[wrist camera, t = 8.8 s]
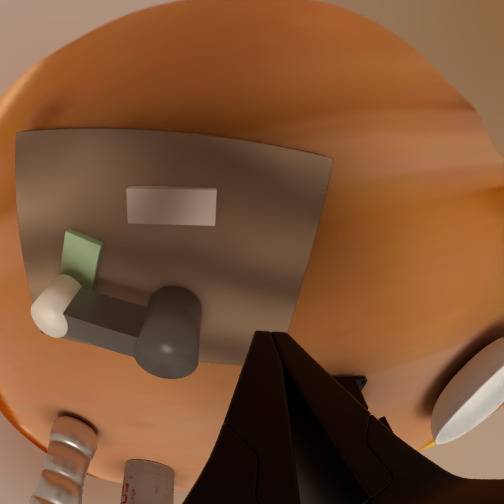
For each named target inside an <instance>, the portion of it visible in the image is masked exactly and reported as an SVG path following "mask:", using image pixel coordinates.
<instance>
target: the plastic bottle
mask: <svg viewBox="0 0 504 504" xmlns="http://www.w3.org/2000/svg"><path fill="white" fill-rule="evenodd" d="M96 449H97V436H96V434H95V432H94V430H93V429H92V428H91V427H90V426H88V425H87V424H85V423H84V422H82V421H80V420H78V419H76V418H73V417H70V416H61V417H59V418H57V419H56V421H55V422H54V424H53V425H52V427H51V432H50V443H49V447H48V451H47V457H46V461H45V464H44V467H43V471H42V472H41V475H40V478H39V481H38V483H37V485H36V487H35V489H34V491H33V493H32V496H31V499H30V504H82V494H83V486H84V479H85V477H86V474H87V470H88V468H89V465H90V461H91V460H92V458H93V457H94V454H95V452H96Z"/></svg>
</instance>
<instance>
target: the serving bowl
mask: <svg viewBox="0 0 504 504" xmlns="http://www.w3.org/2000/svg"><path fill="white" fill-rule="evenodd" d="M503 402H504V337H501V338H499V339H497V340H495V341H494V342H492V343H490V344H489V345H487V346H486V347H485V348H483V349H482V350H481V351H480V352H478V353H477V354H476V355H475V356H474V357H473V358H472V359H471V360H469V361H468V362H467V363H466V364H465V365H464V366H463V367H462V368H461V369H460V371H459V372H458V373H457V374H456V375H455V376H454V377H453V378H452V380H451V381H450V382H449V383H448V385H447V386H446V387H445V389H444V390H443V392H442V393H441V395H440V396H439V398H438V400H437V402H436V404H435V406H434V409H433V412H432V417H431V431H432V436H433V439H434V441H435V443H436V444H444V443H448V442H450V441H452V440H454V439H456V438H458V437H460V436H462V435H463V434H465V433H467V432H468V431H470V430H471V429H473V428H474V427H475V426H477V425H478V424H479V423H481V422H482V421H483V420H484V419H485V418H487V417H488V416H489V415H490V414H491V413H493V412H494V411H495V410H496V409H497V408H498V407H499V406H500V405H501V404H502V403H503Z"/></svg>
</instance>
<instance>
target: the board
mask: <svg viewBox="0 0 504 504" xmlns="http://www.w3.org/2000/svg"><path fill="white" fill-rule="evenodd" d="M333 161H334V159H333V158H330V157H327V156H324V155H321V154H316V153H312V152H307V151H303V150H298V149H293V148H288V147H283V146H278V145H272V144H267V143H261V142H255V141H249V140H243V139H236V138H229V137H222V136H214V135H206V134H197V133H187V132H177V131H165V130H150V129H131V128H56V129H38V130H29V131H22V132H16V152H15V180H16V201H17V214H18V224H19V232H20V240H21V247H22V253H23V259H24V265H25V270H26V275H27V280H28V284H29V289H30V293H31V297H32V301H33V303H34V302H35V301H36V299H37V298H38V297H39V296H40V294H41V293H42V292H43V291H44V290H45V288H46V287H47V286H48V285H49V284H50V283H51V281H52V280H53V279H54V278H55V277H56V276H58V275H61V274H64V275H68V276H71V277H73V278H74V279H75V280H77V281H78V282H79V284H80V285H81V286H82V288H85V289H88V290H91V291H94V292H97V293H101V294H104V295H107V296H110V297H114V298H117V299H121V300H124V301H128V302H131V303H135V304H138V305H142V306H146V307H147V306H148V303H149V300H150V298H151V296H152V295H153V294H154V293H155V292H156V291H157V290H159V289H161V288H164V287H169V286H174V287H180V288H184V289H186V290H188V291H190V292H191V293H192V294H194V295H195V296H196V297H197V299H198V300H199V302H200V304H201V307H202V317H201V330H200V344H199V360H198V362H204V363H216V364H229V365H244V362H245V359H246V356H247V353H248V350H249V347H250V344H251V341H252V338H253V335H254V332H255V331H256V330H260V331H269V332H273V331H277V332H286V333H287V332H288V329H289V325H290V322H291V319H292V316H293V313H294V309H295V306H296V303H297V299H298V296H299V293H300V289H301V286H302V282H303V279H304V275H305V272H306V268H307V265H308V261H309V257H310V254H311V250H312V246H313V243H314V239H315V235H316V231H317V227H318V224H319V220H320V216H321V212H322V208H323V204H324V199H325V195H326V191H327V187H328V183H329V178H330V174H331V170H332V165H333ZM41 333H44V332H43V331H42V330H41ZM44 334H46V333H44ZM59 338H63V339H67V340H71V341H75V342H79V343H84V344H88V345H93V344H90V343H87V342H84V341H81V340H78V339H76V338H73V337H70V336H67V335H64V336H63V337H59ZM93 346H96V345H93ZM98 347H99V346H98Z"/></svg>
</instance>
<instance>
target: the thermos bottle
mask: <svg viewBox="0 0 504 504" xmlns="http://www.w3.org/2000/svg"><path fill="white" fill-rule="evenodd" d="M173 491H174V471H173V470H172V469H171V468H169V467H167V466H165V465H163V464H160V463H156V462H152V461H147V460H129V461H127V463H126V467H125V474H124V481H123V488H122V496H121V504H173V493H174V492H173Z"/></svg>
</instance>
